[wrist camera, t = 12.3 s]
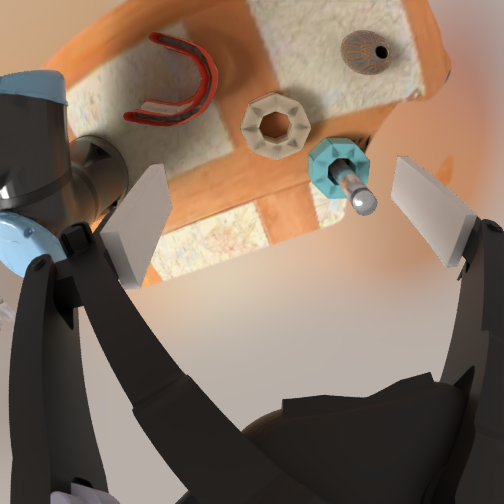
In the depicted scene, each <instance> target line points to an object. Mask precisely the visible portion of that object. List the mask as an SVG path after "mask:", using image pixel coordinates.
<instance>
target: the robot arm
mask: <svg viewBox="0 0 504 504" xmlns="http://www.w3.org/2000/svg"><path fill="white" fill-rule="evenodd" d="M67 106H68V102H67V101H66V86H65V78H64V76H63V75H62V74H61V73H60V72H58V71H55V70H34V71H24V72H18V73H12V74H8V75H4V76H0V260H1V261H2V262H3V263H4V264H5V265H6V266H7V267H8V268H9V269H10V270H12V271H13V272H14V273H16V274H17V275H19V276H21V277H22V278H24V280H23V284H22V288H21V293H20V298H19V302H18V308H17V313H16V319H15V325H14V332H13V341H12V348H11V359H10V375H9V423H10V438H11V448H12V455H13V461H12V473H11V497H10V498H11V500H10V504H120V503H119V502H118V501H117V500H116V499H115V498H114V497H113V496H111V495H110V494H109V492H108V487H107V482H106V475H105V471H104V468H103V464H102V460H101V456H100V453H99V449H98V446H97V442H96V438H95V434H94V430H93V425H92V421H91V416H90V411H89V406H88V400H87V395H86V388H85V382H84V375H83V368H82V360H81V359H82V358H81V349H80V337H79V319H78V307H80V306H84V308H85V311H86V313H87V316H88V318H89V320H90V322H91V325H92V327H93V330H94V332H95V334H96V337H97V339H98V341H99V343H100V345H101V347H102V349H103V351H104V353H105V356H106V358H107V360H108V362H109V363H110V366H111V367H112V369H113V371H114V373H115V375H116V377H117V379H118V381H119V382H120V384H121V386H122V388H123V389H124V391H125V393H126V395H127V396H128V398H129V400H130V402H131V403H132V405H133V409H132V411H133V414H134V416H135V418H136V419H137V421H138V423H139V424H140V426H141V427H142V429H143V431H144V432H145V433H146V435H147V436H148V438H149V439H150V441H151V442H152V444H153V445H154V447H155V448H156V450H157V451H158V452H159V454H160V455H161V456H162V458H163V459H164V460H165V462H166V463H167V464H168V466H169V467H170V468H171V470H172V471H173V472H174V473H175V475H176V476H177V477H178V478H179V480H180V481H181V482H182V483H183V484H184V486H185V487H186V488H187V489H188V491H187V492H186V493H185V494H184V495H183V497H181V498H180V499H179V500H178V501H177V502H176V503H175V504H504V231H503V229H502V228H501V227H500V226H499V225H498V224H497V223H496V222H494V221H491V220H488V219H483V220H481V219H480V218H479V217H478V216H477V214H476V213H475V212H474V211H473V210H472V209H470V207H468V206H467V205H466V204H465V203H464V202H463V201H462V200H461V199H460V198H458V197H457V196H456V195H455V194H454V193H453V192H452V191H451V190H450V189H448V188H447V187H446V186H445V185H444V184H443V183H441V182H440V181H439V180H438V179H436V178H435V177H434V176H433V175H431V174H430V173H429V172H428V171H426V170H425V169H424V168H422V167H421V166H420V165H419V164H417V163H416V162H415V161H413V160H412V159H411V158H409V157H406V156H397V162H396V169H395V175H394V181H393V187H392V193H391V198H392V200H393V201H394V202H395V203H396V204H397V205H398V207H399V208H400V209H401V210H402V211H403V212H404V214H405V215H406V216H407V217H408V218H409V220H410V221H411V222H412V223H413V224H414V226H415V227H416V228H417V229H418V231H419V232H420V233H421V234H422V236H423V237H424V238H425V240H426V241H427V242H428V243H429V245H430V246H431V248H432V249H433V250H434V251H435V253H436V254H437V256H438V257H439V258H440V260H441V261H442V263H443V264H444V265H445V267H455V266H458V264H459V261H460V259H461V256H463V257H464V258H465V259H466V262H465V264H464V266H463V269H462V271H461V273H460V275H459V277H458V279H457V280H458V281H459V280H460V278H462V281H461V289H460V296H459V302H458V309H457V314H456V320H455V325H454V330H453V334H452V339H451V343H450V347H449V351H448V355H447V359H446V362H445V366H444V369H443V373H442V376H441V379H440V381H439V382H434V380H433V378H432V375H431V373H430V372H428V373H425V374H422V375H418V376H414V377H411V378H407V379H403V380H400V381H398V382H396V383H394V384H392V385H390V386H389V387H387V388H385V389H383V390H381V391H379V392H377V393H376V394H373V395H371V396H369V397H364V398H360V397H344V396H330V395H319V396H311V397H302V398H293V399H283V400H282V408H281V409H280V410H277V411H274V412H271V413H269V414H266V415H264V416H262V417H260V418H259V419H257V420H255V421H254V422H252V423H251V424H250V425H248V426H247V427H246V428H245V429H243V430H242V431H239V429H238V428H237V427H235V425H234V424H233V423H232V422H231V421H230V420H229V419H228V418H227V417H226V416H225V415H224V414H223V413H222V412H221V411H220V410H219V408H217V406H216V405H215V404H214V403H213V402H212V401H211V400H210V399H209V397H208V396H207V395H206V394H205V393H204V392H203V391H202V390H201V389H200V387H199V386H198V385H197V384H196V383H195V382H194V381H193V379H192V378H191V377H190V376H189V375H186V374H184V373H183V371H182V370H181V369H180V368H179V367H178V365H177V364H176V363H175V362H174V360H173V359H172V358H171V356H170V355H169V354H168V352H167V351H166V350H165V348H164V347H163V346H162V344H161V343H160V342H159V340H158V339H157V338H156V336H155V335H154V333H153V332H152V331H151V329H150V328H149V326H148V325H147V324H146V322H145V321H144V319H143V318H142V316H141V315H140V313H139V312H138V311H137V309H136V307H135V306H134V304H133V303H132V301H131V300H130V298H129V297H128V295H127V294H126V292H125V291H124V289H140V288H141V285H142V283H143V280H144V277H145V274H146V272H147V269H148V266H149V264H150V261H151V258H152V256H153V253H154V251H155V248H156V246H157V243H158V241H159V238H160V236H161V233H162V231H163V228H164V226H165V223H166V221H167V219H168V216H169V214H170V212H171V209H172V203H171V199H170V194H169V189H168V184H167V179H166V174H165V169H164V164H163V163H161V164H154V165H150V166H149V167H148V169H147V170H146V171H145V172H144V174H143V175H142V176H141V177H140V179H139V180H138V181H137V182H136V184H135V185H134V186H133V187H132V189H131V190H130V191H129V193H128V194H127V195H126V197H125V194H126V192H127V188H128V172H127V168H126V165H125V162H124V160H123V158H122V156H121V155H120V153H119V152H118V151H117V149H116V148H115V147H114V146H113V145H111V144H110V143H109V142H107V141H105V140H103V139H101V138H98V137H94V136H85V137H80V138H78V139H76V140H74V141H72V142H70V143H69V137H68V121H67ZM124 197H125V198H124ZM123 198H124V199H123ZM122 200H123V201H122ZM121 201H122V202H121ZM119 204H120V205H119ZM118 205H119V206H118ZM117 207H118V208H117ZM103 217H104V218H103ZM101 218H103V220H102V222H101V223H100V224H99V225H98V227H97V228H96V230H95V231H94V232H93V234H92V231H91V228H90V226H91V225H92V224H93V222H95V221H97V220H99V219H101ZM118 279H119V280H120V282H121V284H120V283H119V281H118ZM121 285H122V286H121Z"/></svg>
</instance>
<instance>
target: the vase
mask: <svg viewBox="0 0 504 504" xmlns="http://www.w3.org/2000/svg"><path fill="white" fill-rule="evenodd" d="M341 55H342V58H343V60H344V61H345V63H346V64H347V65H348V66H349V67H350V68H351V69H353V70H354V71H356V72H358V73H361V74H365V75H375V74H379V73H381V72H383V71H384V70H386V69H387V68H388V66H389V65H390V63H391V59H392V53H391V49H390V47H389V45H388V43H387V42H386V41H385V40H384V39H383V38H382V37H381V36H379V35H378V34H376V33H373V32H370V31H356V32H353V33H351V34H349V35H348V36H347V37H346V38H345V39H344V40H343V42H342V45H341Z"/></svg>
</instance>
